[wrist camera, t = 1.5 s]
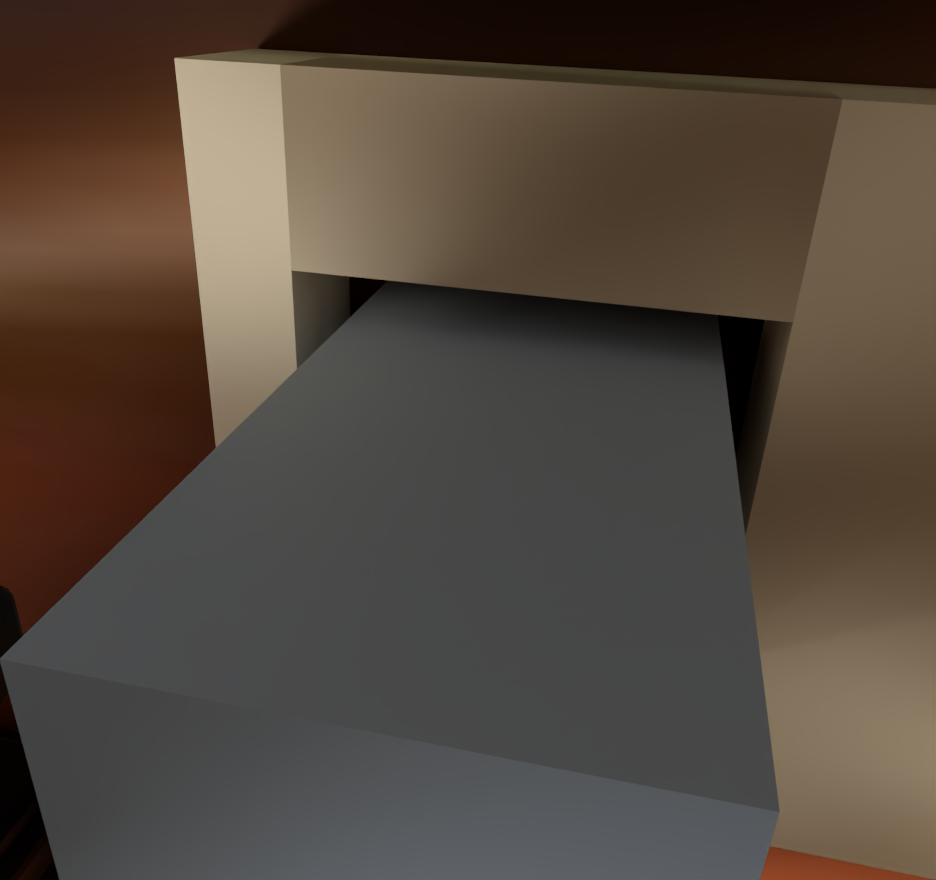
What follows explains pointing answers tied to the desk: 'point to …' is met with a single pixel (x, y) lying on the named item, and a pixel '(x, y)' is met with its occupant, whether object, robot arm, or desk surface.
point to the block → (427, 621)
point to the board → (654, 286)
